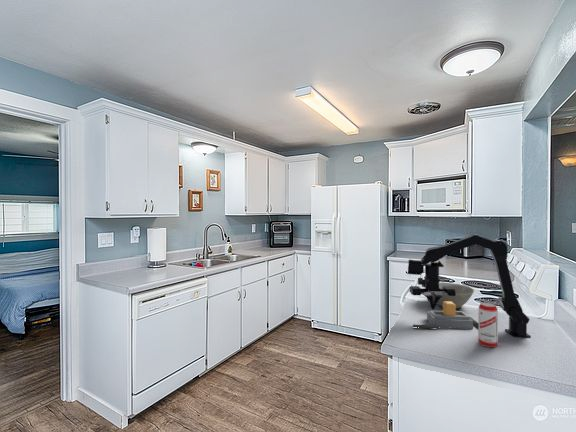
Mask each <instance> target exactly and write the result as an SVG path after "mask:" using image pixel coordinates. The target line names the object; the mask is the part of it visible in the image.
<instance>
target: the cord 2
mask: <svg viewBox="0 0 576 432" xmlns="http://www.w3.org/2000/svg"><path fill="white" fill-rule="evenodd" d="M469 317H470V318H471V320H473V326H476V327H477V328H478V323H479V321H476V319H474V318H472V317H471V316H469Z"/></svg>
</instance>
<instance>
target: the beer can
mask: <svg viewBox="0 0 576 432" xmlns="http://www.w3.org/2000/svg"><path fill="white" fill-rule="evenodd" d="M498 324H499V309H498V307H497V304H496V303H493V302H489V301H481V302H480V304H479V306H478V327H477V328H478V329H477V330H478V332H477V333H478V338H477V339H478V342H479V344H480V345H481V344H482V345H481V346H483V345H484V346H483V347H485V346H488V347H487V348H489V347H494V348H495V347H497V346H499V345H498V344H499V343H498V341H499V335H498V334H499V332H498V331H499V325H498Z"/></svg>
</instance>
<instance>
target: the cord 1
mask: <svg viewBox="0 0 576 432" xmlns="http://www.w3.org/2000/svg"><path fill="white" fill-rule="evenodd" d="M413 327H417V328H418V327H419V328H437V329H436V330H439V329H440V328H439V326H438V325H432V324H412V328H413Z"/></svg>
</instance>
